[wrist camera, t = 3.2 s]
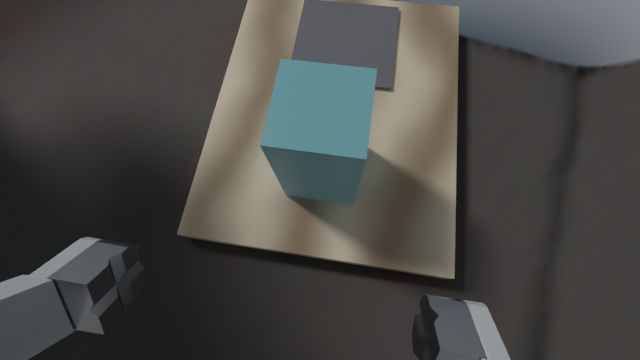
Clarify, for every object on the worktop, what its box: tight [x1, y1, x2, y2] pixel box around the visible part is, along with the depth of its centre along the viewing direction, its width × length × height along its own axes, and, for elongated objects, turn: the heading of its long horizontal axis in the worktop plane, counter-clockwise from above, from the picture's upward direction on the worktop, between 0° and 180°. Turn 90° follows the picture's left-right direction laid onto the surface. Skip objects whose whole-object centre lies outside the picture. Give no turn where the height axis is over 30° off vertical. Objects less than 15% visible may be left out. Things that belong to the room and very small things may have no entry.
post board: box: [177, 0, 459, 279], centre depth 21 cm, size 18×22×6 cm
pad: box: [291, 0, 399, 90], centre depth 24 cm, size 8×8×1 cm
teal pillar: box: [260, 59, 377, 205], centre depth 17 cm, size 5×5×8 cm
